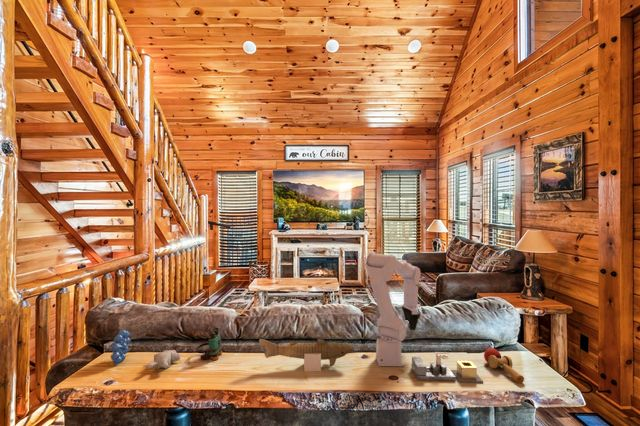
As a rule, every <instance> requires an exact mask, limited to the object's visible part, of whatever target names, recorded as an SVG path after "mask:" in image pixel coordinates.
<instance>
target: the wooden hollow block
mask: <svg viewBox="0 0 640 426" xmlns="http://www.w3.org/2000/svg"><path fill="white" fill-rule="evenodd" d="M456 370H457V373H458V374H459V375H460V377H461V378H462V379H477V375H478V373H477V372H478V368H477V366H476V365H475V364H474V363H473V361H471V360H456Z"/></svg>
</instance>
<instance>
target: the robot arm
mask: <svg viewBox="0 0 640 426" xmlns="http://www.w3.org/2000/svg"><path fill="white" fill-rule="evenodd" d="M364 265H365V269H366V273H367V276H368V278H369V283H370V287H371V290H372V293H373V295H374V299H375V303H376V306H377V309H378V312H379V315H380V316H379V318H378V319H377V322H376V324H377V334H378V335H379V336H380V338H376V341H375V342H376V345H375V346H376V349H375V350H376V351H375V353H376V354H375V358H376V361H377V365H378V366H379V367H404V366H405V365H404V362H403V361H402V341H404V340H405V338H406V335H407V327H406V325H405V323H404V322H403V320H402V319H401V318H399V316H397V315H396V314H395V310H394V307H393V303H392V299H391V297H390V293H389V289H388V286H387V282H389V281H391V279H392V277H393V274H394V271H395V273H396V274H398V275H400V276H401V278H402V279H403V303H402V306H400V308H401V309H402V312H403V315H404V321H405V320H408V321H409V324H408V327H409V330H410V331H415V330H416V329H417V324H418V321H419V319H420V317H421V313H419V312H418V308H421V304H419V302H418V301H419V298H418V297H419V296H418V295H419V291H418V290H419V284H420V279H421V273H422V272H421V269H420V267H418V266H415V265H412V263H411V262H410V263H409V262H408V261H407V259H402V260H399V259H397V257H396V255H394V254H383V253H374V252H370V253H368V254H367V256H366V259H365V263H364Z"/></svg>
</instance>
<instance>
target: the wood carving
mask: <svg viewBox="0 0 640 426" xmlns="http://www.w3.org/2000/svg"><path fill="white" fill-rule="evenodd" d="M316 339H317V341H316V342H312V343H307V342H306V343H297V342H296V341H294V340H290V343H288V344H280V343H278V344H275V343H273V342H271V341H269V340H266V339H262V338H259V340H258V341H259V344H260V347H261V349H262V351H263V354H264V357H265V358H266V359H269V358H270V357H276V356H282V357H288V358H292V359H293V358H295V359H299V360H300V359H301V360H303V368H304V370H303V371H304V372H321V371H322V361H324V360H325V361H326V360H328V361H329V367H333V366H334V365H335V364H336V362H337V359H340V358H343V357H345V356H346V355H348V354H349V353H351V352H352V351H354V346H353V344H350V343H344V342H326V341H325V339H324V338H322V337H317V338H316ZM263 346H264V347H265V350H264V348H263Z"/></svg>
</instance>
